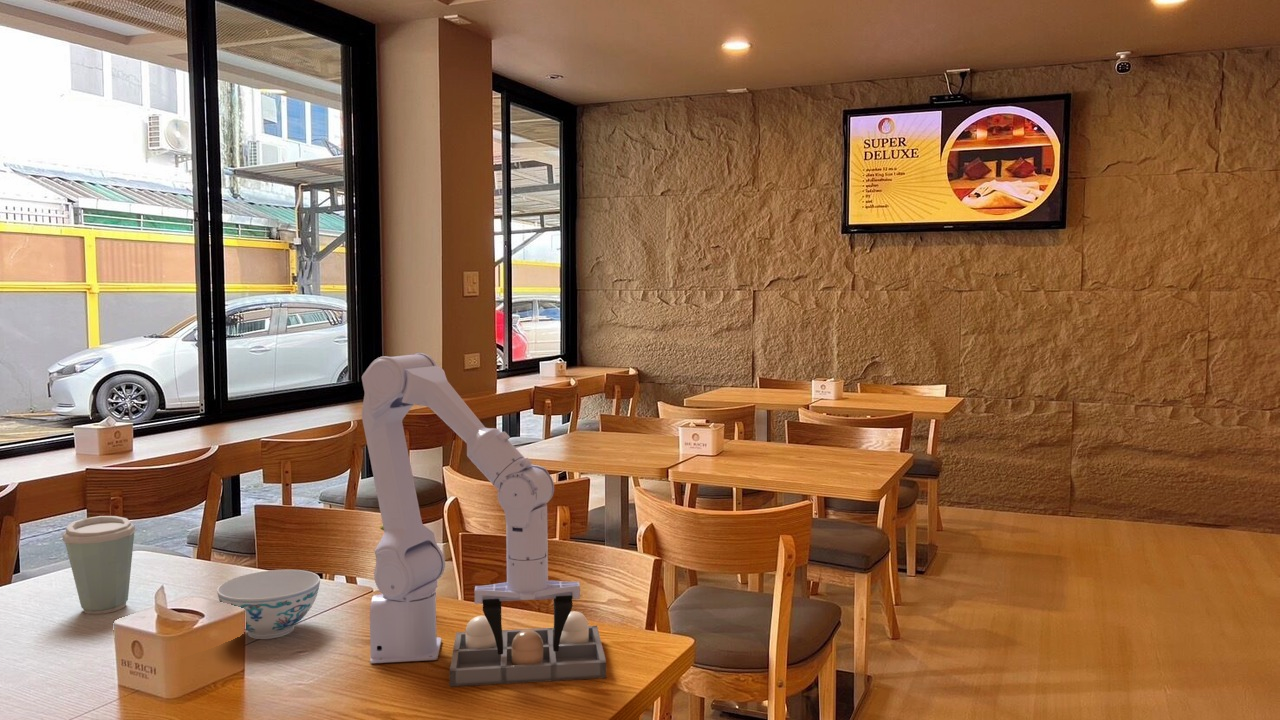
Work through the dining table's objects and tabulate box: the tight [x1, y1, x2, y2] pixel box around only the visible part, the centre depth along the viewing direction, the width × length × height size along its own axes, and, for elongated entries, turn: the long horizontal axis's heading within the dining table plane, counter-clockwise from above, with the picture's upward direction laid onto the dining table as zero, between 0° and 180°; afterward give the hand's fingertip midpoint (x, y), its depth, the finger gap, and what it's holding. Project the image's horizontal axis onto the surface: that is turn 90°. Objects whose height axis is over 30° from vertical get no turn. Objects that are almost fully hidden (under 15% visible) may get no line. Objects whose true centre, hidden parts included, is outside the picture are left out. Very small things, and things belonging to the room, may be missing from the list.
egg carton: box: [449, 610, 607, 688], centre depth 133 cm, size 21×14×6 cm
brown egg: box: [512, 630, 543, 665], centre depth 130 cm, size 4×4×5 cm
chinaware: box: [216, 569, 321, 640], centre depth 146 cm, size 15×15×8 cm
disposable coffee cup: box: [61, 515, 137, 615], centre depth 156 cm, size 11×11×15 cm
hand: (528, 650), depth 130 cm, fingers open, 7 cm apart
